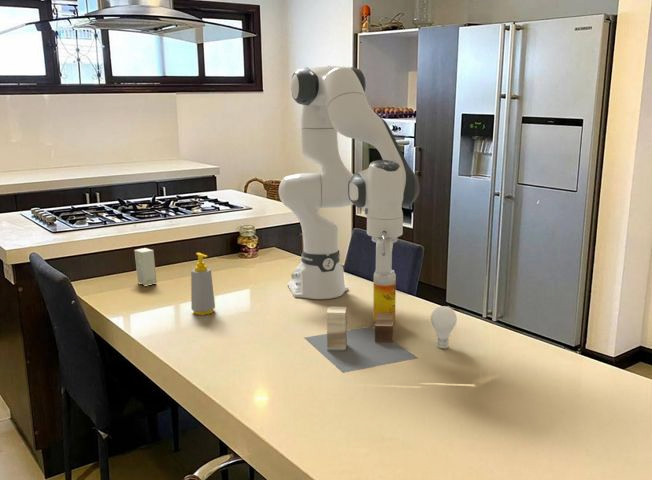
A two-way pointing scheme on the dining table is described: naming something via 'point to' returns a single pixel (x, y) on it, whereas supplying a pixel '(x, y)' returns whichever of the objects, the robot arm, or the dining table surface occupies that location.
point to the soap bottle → (202, 288)
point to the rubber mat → (361, 350)
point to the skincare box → (145, 266)
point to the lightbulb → (443, 324)
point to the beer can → (384, 295)
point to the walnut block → (384, 328)
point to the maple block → (337, 329)
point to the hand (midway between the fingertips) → (383, 280)
